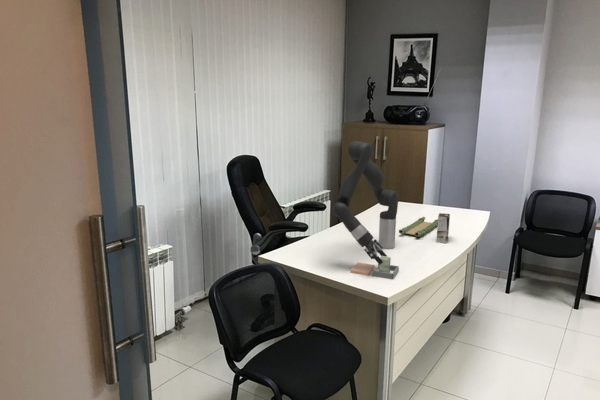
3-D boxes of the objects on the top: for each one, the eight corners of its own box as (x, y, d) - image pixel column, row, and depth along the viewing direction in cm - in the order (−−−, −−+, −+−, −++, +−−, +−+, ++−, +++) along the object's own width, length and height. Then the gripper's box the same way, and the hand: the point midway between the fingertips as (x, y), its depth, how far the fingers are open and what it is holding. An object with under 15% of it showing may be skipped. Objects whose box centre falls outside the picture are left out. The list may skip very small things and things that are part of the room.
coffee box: (447, 243, 267) (449, 217, 264) (436, 242, 270) (437, 216, 266) (448, 239, 275) (450, 213, 272) (437, 238, 278) (439, 212, 274)
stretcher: (419, 241, 273) (419, 233, 272) (396, 236, 281) (397, 229, 280) (441, 225, 305) (441, 218, 304) (420, 222, 313) (421, 215, 312)
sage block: (380, 271, 224) (381, 255, 223) (389, 272, 223) (390, 257, 221) (378, 274, 220) (379, 258, 219) (387, 275, 219) (388, 260, 217)
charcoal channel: (378, 267, 228) (378, 263, 228) (398, 271, 224) (398, 266, 224) (372, 275, 218) (372, 271, 218) (393, 279, 214) (393, 274, 213)
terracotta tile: (357, 264, 233) (357, 262, 233) (374, 267, 229) (374, 264, 229) (350, 272, 222) (350, 270, 222) (368, 275, 219) (368, 273, 219)
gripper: (363, 234, 214) (385, 261, 212) (371, 227, 227) (392, 252, 225) (352, 243, 218) (374, 269, 216) (360, 235, 230) (381, 260, 228)
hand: (383, 260), depth 220 cm, fingers open, 8 cm apart
